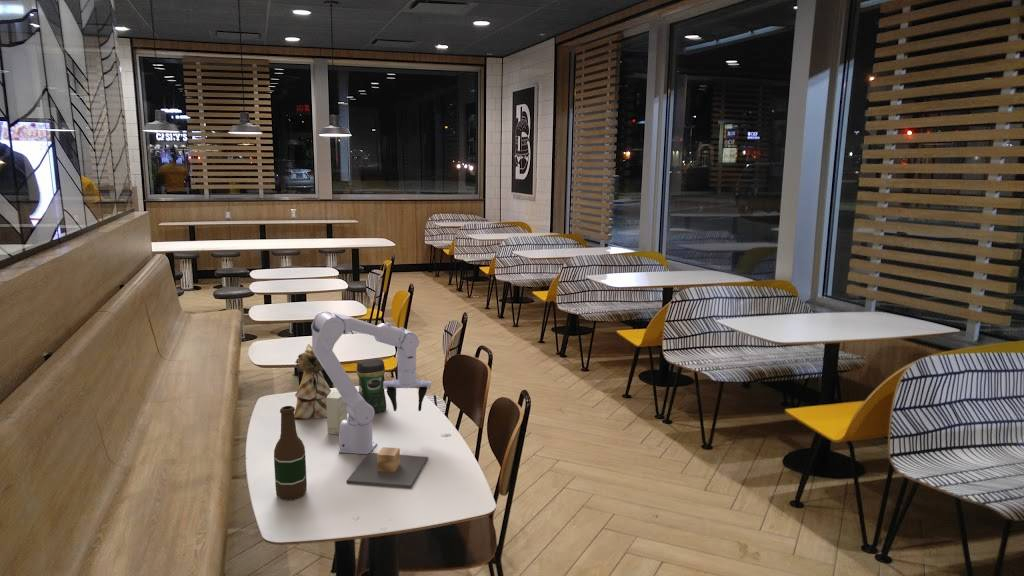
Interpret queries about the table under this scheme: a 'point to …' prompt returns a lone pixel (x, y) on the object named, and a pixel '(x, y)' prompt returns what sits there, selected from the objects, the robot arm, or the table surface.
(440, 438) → the table surface
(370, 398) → the coffee jar
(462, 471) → the table surface
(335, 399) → the skincare box
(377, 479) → the charcoal mat
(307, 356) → the plush toy
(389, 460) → the oak cube
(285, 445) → the beer bottle
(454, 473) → the table surface
